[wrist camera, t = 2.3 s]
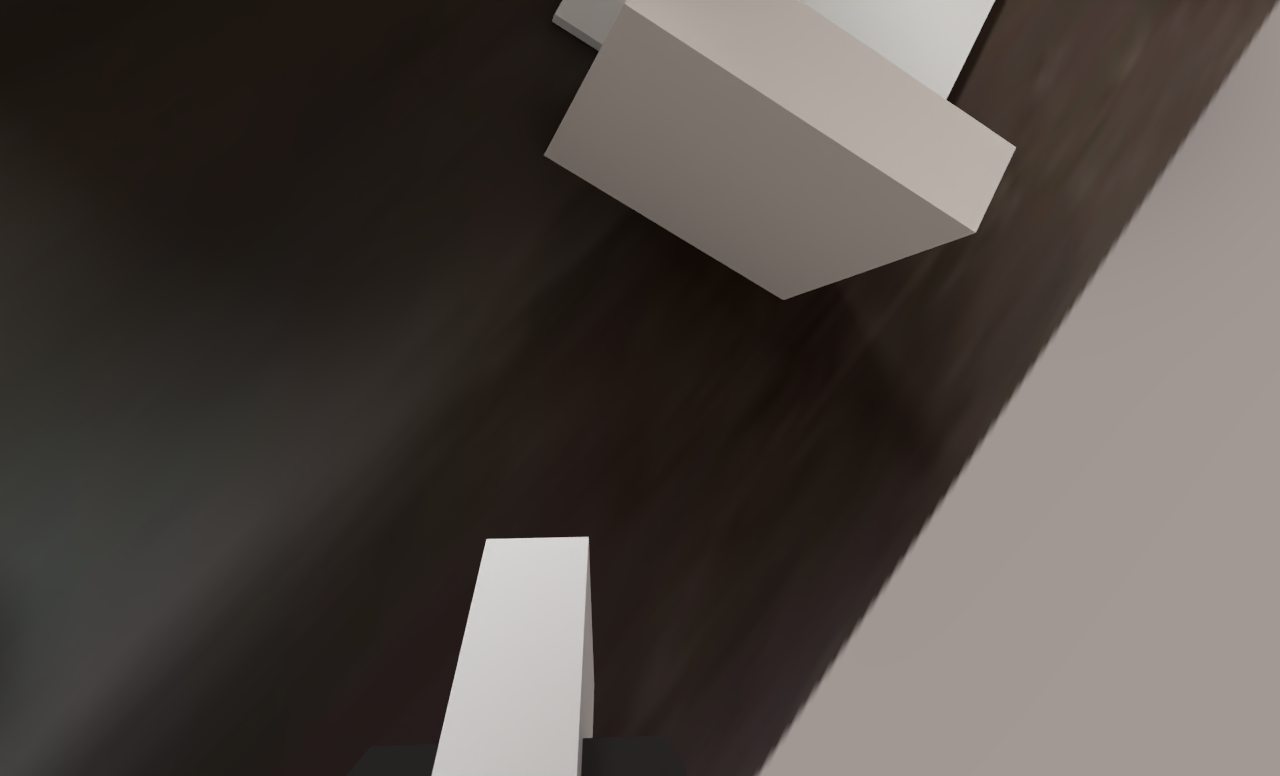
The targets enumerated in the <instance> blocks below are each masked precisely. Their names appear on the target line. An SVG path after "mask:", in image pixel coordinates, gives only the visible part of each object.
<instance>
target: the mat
mask: <svg viewBox="0 0 1280 776" xmlns="http://www.w3.org/2000/svg"><path fill="white" fill-rule="evenodd" d="M800 1H802V2H803V3H805V4H806V5H808V6H809V7H811V8H812V9H814V10H815V11H817V12H818V13H819V14H821V15H822V16H824V17H825V18H827V19H828V20H830V21H831V22H833V23H834V24H836V25H837V26H839V27H840V28H842V29H843V30H844V31H846V32H847V33H849V34H850V35H852V36H853V37H855V38H856V39H858V40H859V41H861V42H862V43H864V44H865V45H866V46H868V47H869V48H871V49H872V50H874V51H875V52H877V53H878V54H880V55H881V56H883V57H884V58H886V59H887V60H889V61H890V62H891V63H893V64H894V65H896V66H897V67H899V68H900V69H902V70H903V71H905V72H906V73H908V74H909V75H911V76H912V77H913V78H915V79H916V80H918V81H919V82H921V83H922V84H924V85H925V86H927V87H928V88H930V89H931V90H933V91H934V92H936V93H937V94H938V95H940V96H941V97H943V98H944V99H946V100H947V97H948V95H949V93H950V91H951V89H952V87H953V85H954V83H955V81H956V79H957V77H958V75H959V73H960V71H961V69H962V67H963V65H964V63H965V61H966V59H967V57H968V55H969V53H970V51H971V48H972V46H973V44H974V42H975V40H976V38H977V36H978V34H979V32H980V30H981V28H982V26H983V24H984V22H985V20H986V18H987V16H988V14H989V12H990V10H991V8H992V6H993V4H994V2H995V0H800ZM625 2H626V0H562V2H561V4H560V6H559V7H558V9H557V11H556V13H555V14H554V17H553V20H552V22H554V23H555V24H557V25H558V26H560V27H561V28H563V29H565V30H566V31H568V32H569V33H571V34H572V35H574V36H576V37H577V38H579V39H580V40H582V41H583V42H585V43H587V44H588V45H590V46H591V47H593V48H594V49H596V50H598V51H600V49H601V47H602V45H603V43H604V41H605V39H606V37H607V36H608V34H609V32H610V30H611V28H612V26H613V24H614V22H615V21H616V19H617V17H618V15H619V13H620V11H621V9H622V7H623V5H624V4H625Z"/></svg>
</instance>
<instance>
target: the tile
mask: <svg viewBox="0 0 1280 776" xmlns="http://www.w3.org/2000/svg"><path fill="white" fill-rule="evenodd" d="M1015 148H1016V147H1015V146H1013V145H1012V144H1010V143H1009V142H1008V141H1006V140H1005V139H1003V138H1002V137H1000V136H999V135H997V134H996V133H994V132H993V131H991V130H990V129H988V128H987V127H985V126H984V125H983V124H981V123H980V122H978V121H977V120H975V119H974V118H972V117H971V116H969V115H968V114H966V113H965V112H963V111H962V110H960V109H959V108H958V107H956V106H955V105H953V104H952V103H950V102H949V101H947V100H946V99H944V98H943V97H941V96H940V95H938V94H937V93H936V92H934V91H933V90H931V89H930V88H928V87H927V86H925V85H924V84H922V83H921V82H919V81H918V80H916V79H915V78H913V77H912V76H911V75H909V74H908V73H906V72H905V71H903V70H902V69H900V68H899V67H897V66H896V65H894V64H893V63H891V62H890V61H889V60H887V59H886V58H884V57H883V56H881V55H880V54H878V53H877V52H875V51H874V50H872V49H871V48H869V47H868V46H866V45H865V44H864V43H862V42H861V41H859V40H858V39H856V38H855V37H853V36H852V35H850V34H849V33H847V32H846V31H844V30H843V29H842V28H840V27H839V26H837V25H836V24H834V23H833V22H831V21H830V20H828V19H827V18H825V17H824V16H822V15H821V14H819V13H818V12H817V11H815V10H814V9H812V8H811V7H809V6H808V5H806V4H805V3H803V2H802V1H800V0H626V2H625V4H624V5H623V7H622V9H621V11H620V13H619V15H618V17H617V19H616V21H615V22H614V24H613V26H612V28H611V30H610V32H609V34H608V36H607V37H606V39H605V41H604V43H603V45H602V47H601V49H600V51H599V52H598V54H597V56H596V58H595V60H594V62H593V64H592V66H591V67H590V69H589V71H588V73H587V75H586V77H585V79H584V81H583V82H582V84H581V86H580V88H579V90H578V92H577V94H576V96H575V98H574V99H573V101H572V103H571V105H570V107H569V109H568V111H567V113H566V114H565V116H564V118H563V120H562V122H561V124H560V126H559V128H558V129H557V131H556V133H555V135H554V137H553V139H552V141H551V143H550V144H549V146H548V148H547V150H546V152H545V154H544V156H546V157H547V158H549V159H551V160H552V161H554V162H556V163H557V164H559V165H561V166H562V167H564V168H566V169H567V170H569V171H570V172H572V173H574V174H575V175H577V176H579V177H580V178H582V179H584V180H585V181H587V182H589V183H590V184H592V185H594V186H595V187H597V188H599V189H600V190H602V191H604V192H605V193H607V194H609V195H610V196H612V197H613V198H615V199H617V200H618V201H620V202H622V203H623V204H625V205H627V206H628V207H630V208H632V209H633V210H635V211H637V212H638V213H640V214H642V215H643V216H645V217H647V218H648V219H650V220H652V221H653V222H655V223H656V224H658V225H660V226H661V227H663V228H665V229H666V230H668V231H670V232H671V233H673V234H675V235H676V236H678V237H680V238H681V239H683V240H685V241H686V242H688V243H690V244H691V245H693V246H694V247H696V248H698V249H699V250H701V251H703V252H704V253H706V254H708V255H709V256H711V257H713V258H714V259H716V260H718V261H719V262H721V263H723V264H724V265H726V266H728V267H729V268H731V269H733V270H734V271H736V272H737V273H739V274H741V275H742V276H744V277H746V278H747V279H749V280H751V281H752V282H754V283H756V284H757V285H759V286H761V287H762V288H764V289H766V290H767V291H769V292H771V293H772V294H774V295H776V296H777V297H779V298H780V299H782V300H785V299H788V298H791V297H794V296H797V295H800V294H802V293H805V292H808V291H811V290H814V289H817V288H820V287H822V286H825V285H828V284H831V283H834V282H837V281H840V280H842V279H845V278H848V277H851V276H854V275H857V274H860V273H862V272H865V271H868V270H871V269H874V268H877V267H880V266H882V265H885V264H888V263H891V262H894V261H897V260H900V259H902V258H905V257H908V256H911V255H914V254H917V253H920V252H922V251H925V250H928V249H931V248H934V247H937V246H940V245H942V244H945V243H948V242H951V241H954V240H957V239H959V238H962V237H965V236H968V235H971V234H974V233H976V231H977V229H978V227H979V225H980V223H981V221H982V218H983V216H984V214H985V212H986V210H987V208H988V206H989V204H990V202H991V199H992V197H993V195H994V193H995V191H996V189H997V187H998V185H999V182H1000V180H1001V178H1002V176H1003V174H1004V172H1005V170H1006V168H1007V165H1008V163H1009V161H1010V159H1011V157H1012V155H1013V153H1014V151H1015Z"/></svg>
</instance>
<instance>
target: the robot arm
mask: <svg viewBox="0 0 1280 776" xmlns="http://www.w3.org/2000/svg"><path fill="white" fill-rule="evenodd" d="M593 703H594V671H593V644H592V617H591V589H590V562H589V537H561V538H515V539H486V543H485V548H484V552H483V556H482V561H481V565H480V569H479V574H478V578H477V582H476V586H475V591H474V595H473V599H472V604H471V608H470V612H469V617H468V621H467V625H466V629H465V634H464V638H463V642H462V647H461V651H460V655H459V660H458V664H457V668H456V672H455V677H454V681H453V685H452V690H451V694H450V698H449V703H448V707H447V711H446V715H445V720H444V724H443V728H442V733H441V737H440V741H439V745H400V746H371V747H370V749H369V750H368V751H367V752H366V753H365V754H364V756H363V757H362V758H361V759H360V760H359V761H358V763H357V764H356V765H355V766H354V767H353V768H352V770H351V771H350V772H349V773H348V774H347V775H346V776H686V769H685V767H684V765H683V763H682V762H681V760H680V759H679V757H678V755H677V754H676V752H675V751H674V749H673V748H672V746H671V744H670V743H669V741H668V740H667V738H666V736H648V737H609V738H592V735H593Z"/></svg>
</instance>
